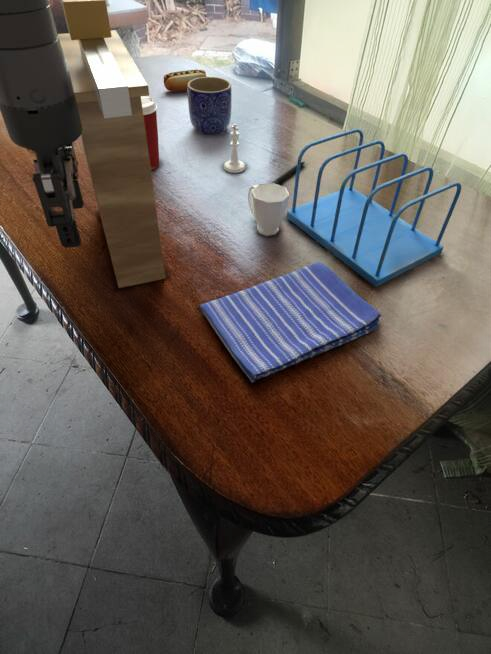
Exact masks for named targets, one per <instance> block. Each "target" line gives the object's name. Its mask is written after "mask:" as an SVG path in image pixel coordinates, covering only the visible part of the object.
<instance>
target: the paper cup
mask: <svg viewBox="0 0 491 654" xmlns="http://www.w3.org/2000/svg"><path fill="white" fill-rule="evenodd" d="M141 102H142V109H143V117H144V124H145V131H146V139H147V146H148V153H149V161H150V168H151V171H153V170H156V169H157V168H158V167H159V166H160V153H159V152H160V150H159V149H160V148H159V132H158V119H157V118H158V115H157V111H158V105H157V103H156V102H155V100H154V99H153V98H152V97H150V96H141Z"/></svg>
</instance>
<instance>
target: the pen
mask: <svg viewBox="0 0 491 654" xmlns="http://www.w3.org/2000/svg"><path fill="white" fill-rule="evenodd" d="M305 162H306V161H301V166H300V169H301V168H302V167H303V166H304V165H305ZM296 170H297V164H295V165H294V166H293V167H292V168H290V169H289V170H287V171H286V172H284V173H283V174H282V175H280V176H279V177H277V178H276V179H274V180H273V181H272V182H271V183H275V184H278V185H280V183H282V182H283V181H284V180H285V179H287V178H289V177H290V176H292V174H294V173H296Z"/></svg>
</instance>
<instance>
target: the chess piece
mask: <svg viewBox="0 0 491 654" xmlns="http://www.w3.org/2000/svg"><path fill="white" fill-rule="evenodd" d="M230 129H231V130H232V131H231V132H230V133H229V135H230V138H231V141H230V143H229V145H230V147H232V148H231V156H230V159H229V160H227V161H225V162H224V164H223V169H224V171H226V172H228V173H232V174H234V173H235V174H236V173H242V172H244V171H245V169H246V164H245V163H244V161H242V160H240V159H239V156H238V147H239V146H240V142H239V141H238V140H239V136H240V132H239V127H237V123H233V125H230Z"/></svg>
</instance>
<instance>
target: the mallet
mask: <svg viewBox="0 0 491 654" xmlns="http://www.w3.org/2000/svg"><path fill="white" fill-rule="evenodd" d="M60 2H61V6H62V9H63V15H64V18H65V23H66V27H67V31H68V33H69V34H70V37H71V40H78V41H79V46H80V51H81V55H82V58H83V61H84V64H85V67H86V69H87V72H88V75H89V78H90V81H91V83H92V86H93V89H94V92H95V95H96V97H97V100H98V103H99V106H100V109H101V111H102V114H103V117H104V119H107V118H116V117H124V116H132V110H131V104H130V97H129V91H128V86H127V84H126V82H125V80H124V78H123V76H122V74H121V72H120V70H119V68H118V66H117V64H116V62H115V60H114V58H113V56H112V54H111V52H110V50H109V48H108V46H107V44H106V42H105V40H104V38H111V37H112V36H111V30H112V29H111V24H110V19H109V11H108V7H107V1H106V0H61V1H60Z"/></svg>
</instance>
